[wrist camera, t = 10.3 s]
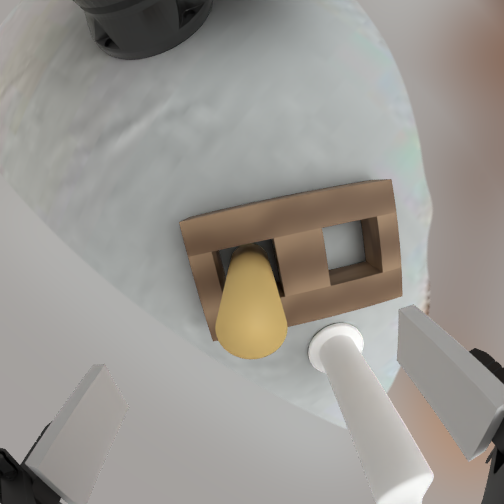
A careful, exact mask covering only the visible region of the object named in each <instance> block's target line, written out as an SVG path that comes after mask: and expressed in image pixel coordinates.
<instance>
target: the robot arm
mask: <svg viewBox="0 0 504 504" xmlns="http://www.w3.org/2000/svg"><path fill="white" fill-rule="evenodd" d="M73 1H74V2H75V3H77V4H78V5H79V6H80V7H81V8H82V9H83V10H84V12H85V15H86V19H87V22H88V26H89V29H90V32H91V35H92V38H93V40H94V41H95V42H96V44H97V45H98V46H99V47H100V48H102V49H103V50H104V51H105V52H106V53H108V54H109V55H111V56H114V57H117V58H121V59H140V58H145V57H150V56H153V55H157V54H159V53H162V52H164V51H167V50H169V49H171V48H173V47H175V46H177V45H178V44H180V43H181V42H183V41H185V40H186V39H187V38H189V37H190V36H191V35H192V34H193V33H195V32H196V31H197V30H198V29H199V28H200V26H201V25H202V24H203V23H204V21H205V20H206V18H207V17H208V15H209V13H210V10H211V6H212V0H73ZM397 361H398V362H399V364H400V365H401V366H402V368H403V369H404V370H405V372H406V373H407V374H408V376H409V377H410V378H411V380H412V381H413V382H414V384H415V385H416V386H417V388H418V389H419V391H420V392H421V393H422V395H423V396H424V398H425V399H426V400H427V402H428V403H429V404H430V406H431V407H432V409H433V410H434V412H435V413H436V414H437V416H438V417H439V419H440V420H441V422H442V423H443V424H444V426H445V427H446V429H447V430H448V432H449V433H450V435H451V436H452V437H453V439H454V440H455V442H456V443H457V445H458V446H459V448H460V449H461V451H462V453H463V454H464V456H465V457H466V459H467V460H468V462H469V461H471V460H472V459H474V458H475V457H477V456H478V455H480V454H481V453H483V452H484V451H486V449H487V447H488V446H489V444H490V442H491V441H492V442H493V443H494V444H495V447H494V449H493V450H492V452H491V453H490V455H489V456H488V458H487V460H486V463H488V462H489V461H490V459H491V458H492V460H491V466H490V471H489V475H488V480H487V484H486V488H485V492H484V496H483V500H482V503H481V504H504V368H502V367H501V365H500V364H499V363H498V362H495V360H494V359H493V358H492V357H491V356H490V355H489V354H487V353H486V352H484V351H481V350H479V349H476V348H474V349H473V350H471V351H467V350H466V349H465V348H464V347H463V346H462V345H460V344H459V343H458V342H457V341H456V340H455V339H454V338H453V337H452V336H450V335H449V334H448V333H447V332H446V331H445V330H443V329H442V328H441V327H440V326H439V325H438V324H436V323H435V322H434V321H433V320H432V319H430V318H429V317H428V316H427V315H426V314H425V313H423V312H422V311H421V310H420V309H419V308H417V307H416V306H415V305H414V304H413V305H410V306H407V307H404V308H401V309H399V326H398V351H397ZM128 409H129V406H128V404H127V402H126V401H125V399H124V397H123V396H122V394H121V392H120V390H119V389H118V387H117V385H116V383H115V382H114V380H113V378H112V376H111V374H110V372H109V370H108V368H107V367H106V365H105V364H99V365H93V366H92V367H91V368H90V370H89V371H88V373H87V374H86V375H85V376H84V378H83V379H82V380H81V382H80V383H79V385H78V386H77V387H76V389H75V390H74V391H73V393H72V394H71V396H70V397H69V398H68V400H67V401H66V402H65V404H64V405H63V407H62V408H61V409H60V411H59V412H58V414H57V415H56V417H55V418H54V420H53V421H52V422H51V423H49V424H48V425H47V426H46V427H45V428H44V430H43V431H42V433H41V436H39V437H38V439H37V442H35V443H34V445H33V446H32V448H31V450H30V451H29V453H28V454H27V456H26V457H25V459H24V460H23V462H22V463H21V465H19V464H18V463H17V462H16V460H15V459H14V458H13V457H12V456H11V455H10V454H9V453H8V452H7V451H6V449H3V448H0V503H1V504H62V503H60V502H59V501H60V499H61V498H62V499H63V500H65V501H66V502H67V503H68V504H87V502H88V500H89V497H90V495H91V493H92V490H93V488H94V485H95V483H96V481H97V478H98V475H99V473H100V471H101V469H102V466H103V464H104V462H105V460H106V457H107V455H108V453H109V450H110V448H111V446H112V444H113V441H114V439H115V437H116V435H117V433H118V430H119V428H120V426H121V424H122V422H123V420H124V417H125V415H126V413H127V411H128Z"/></svg>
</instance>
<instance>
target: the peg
mask: <svg viewBox="0 0 504 504" xmlns="http://www.w3.org/2000/svg"><path fill="white" fill-rule="evenodd" d="M215 330H216V336H217V338H218V341H219V342H220V344H221V345H222V347H223V348H224V349H225V350H227V351H228V352H229V353H231V354H232V355H235V356H237V357H240V358H244V359H258V358H263V357H266V356H268V355H270V354H272V353H273V352H275V351H276V350H277V349H278V348H279V347H280V346H281V345H282V343H283V342H284V340H285V338H286V335H287V321H286V317H285V313H284V310H283V307H282V303H281V300H280V296H279V293H278V289H277V286H276V282H275V279H274V275H273V272H272V269H271V265H270V262H269V258H268V255H267V253H266V251H265V250H264V249H263V248H262V247H260V246H259V245H256V244H252V243H249V244H244V245H241V246H239V247H238V248H237V249H236V250H235V251H234V252H233V254H232V256H231V261H230V265H229V269H228V273H227V277H226V282H225V286H224V290H223V294H222V299H221V303H220V307H219V312H218V316H217V320H216V326H215Z"/></svg>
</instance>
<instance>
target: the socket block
mask: <svg viewBox="0 0 504 504" xmlns="http://www.w3.org/2000/svg"><path fill="white" fill-rule="evenodd" d="M357 220H361V225H362V232H363V240H364V248H365V257H366V261H365V262H361V263H357V264H353V265H348V266H344V267H340V268H336V269H332V270H328V264H327V257H326V251H325V244H324V238H323V232H322V228H324V227H328V226H333V225H338V224H343V223H347V222H352V221H357ZM179 224H180V228H181V232H182V236H183V240H184V244H185V247H186V251H187V255H188V259H189V262H190V266H191V270H192V273H193V277H194V280H195V284H196V287H197V291H198V294H199V297H200V301H201V304H202V307H203V311H204V314H205V317H206V321H207V324H208V327H209V330H210V333H211V336H212V339H213V341H218V338H217V336H216V330H215V326H216V320H217V316H218V312H219V307H220V303H221V299H222V294H223V290H224V286H225V282H226V277H225V273H224V269H223V265H222V261H221V257H220V253H219V250H222V249H226V248H231V247H235V246H240V245H244V244H249V243H254V242H258V241H263V240H267V239H272V244H273V249H274V253H275V258H276V263H277V268H278V273H279V278H280V281H279V282H276V286H277V289H278V293H279V296H280V300H281V303H282V307H283V310H284V313H285V317H286V321H287V327H289V326H294V325H298V324H303V323H307V322H311V321H315V320H319V319H323V318H327V317H331V316H335V315H339V314H343V313H346V312H350V311H354V310H357V309H361V308H364V307H368V306H371V305H375V304H378V303H382V302H385V301H388V300H391V299H395V298H398V297H401V296H402V271H401V255H400V242H399V232H398V222H397V214H396V206H395V199H394V193H393V186H392V180H391V179H386V180H369V181H363V182H357V183H351V184H345V185H339V186H334V187H328V188H323V189H317V190H312V191H307V192H301V193H296V194H291V195H286V196H281V197H276V198H272V199H267V200H262V201H257V202H253V203H248V204H244V205H239V206H235V207H230V208H226V209H222V210H217V211H213V212H209V213H205V214H201V215H196V216H192V217H189V218H187V219H185V220H183V221H181V222H179Z"/></svg>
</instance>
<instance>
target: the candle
mask: <svg viewBox="0 0 504 504" xmlns="http://www.w3.org/2000/svg"><path fill="white" fill-rule="evenodd" d="M363 346H364V341H363V337H362V335H361V333H360V332H359V330H358V329H357V328H356V327H354V326H352V325H350V324H346V323H336V324H332V325H329V326H327V327H325V328H323V329H322V330H320V331H319V332H318V333H317V334H316V335H315V336H314V338H313V339H312V341H311V343H310V345H309V349H308V356H309V360H310V362H311V364H312V365H313V367H314V368H316V369H317V370H319V371H321V372H324V373H326V374H327V376H328V379H329V381H330V384H331V386H332V389H333V391H334V394H335V396H336V399H337V402H338V404H339V407H340V409H341V412H342V414H343V417H344V420H345V422H346V425H347V427H348V430H349V432H350V435H351V438H352V441H353V443H354V446H355V448H356V451H357V454H358V456H359V459H360V462H361V464H362V467H363V470H364V473H365V475H366V478H367V481H368V484H369V486H370V489H371V492H372V495H373V498H374V500H375V503H376V504H422V497H423V496H424V494H425V492H426V491H427V489H428V487H429V485H430V484H431V483H432V481H433V477H434V475H433V472H432V471H431V469H430V467H429V465H428V463H427V462H426V460H425V458H424V456H423V455H422V453H421V451H420V450H419V447H418V446H417V444H416V442H415V441H414V439H413V437H412V435H411V434H410V432H409V430H408V429H407V427H406V425H405V424H404V422H403V420H402V419H401V417H400V415H399V414H398V412H397V410H396V409H395V407H394V405H393V404H392V402H391V400H390V399H389V397H388V395H387V394H386V392H385V391H384V389H383V387H382V386H381V384H380V382H379V381H378V379H377V378H376V376H375V374H374V373H373V371H372V370H371V368H370V367H369V365H368V363H367V362H366V360H365V359H364V357H363V356H362V354H361V353H362V350H363Z"/></svg>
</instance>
